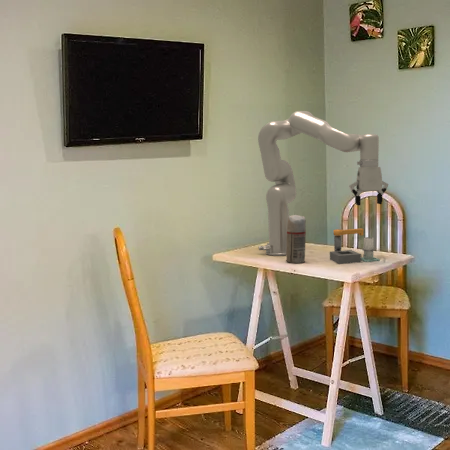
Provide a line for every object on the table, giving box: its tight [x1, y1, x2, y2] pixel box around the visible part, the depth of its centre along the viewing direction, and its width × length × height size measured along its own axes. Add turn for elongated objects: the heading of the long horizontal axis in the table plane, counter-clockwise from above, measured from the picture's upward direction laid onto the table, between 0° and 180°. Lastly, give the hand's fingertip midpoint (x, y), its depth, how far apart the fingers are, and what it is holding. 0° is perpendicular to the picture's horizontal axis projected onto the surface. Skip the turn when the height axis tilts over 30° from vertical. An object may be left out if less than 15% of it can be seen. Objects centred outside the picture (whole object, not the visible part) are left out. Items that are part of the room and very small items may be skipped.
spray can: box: [285, 214, 307, 264], centre depth 284 cm, size 8×8×20 cm
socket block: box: [329, 249, 362, 265], centre depth 284 cm, size 10×10×4 cm
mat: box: [361, 256, 381, 263], centre depth 285 cm, size 7×7×1 cm
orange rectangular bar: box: [333, 227, 364, 236], centre depth 292 cm, size 14×4×3 cm, turn 107°
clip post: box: [333, 235, 342, 251], centre depth 292 cm, size 5×5×10 cm
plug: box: [361, 236, 376, 260], centre depth 284 cm, size 5×5×9 cm
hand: (368, 204), depth 281 cm, fingers open, 9 cm apart
